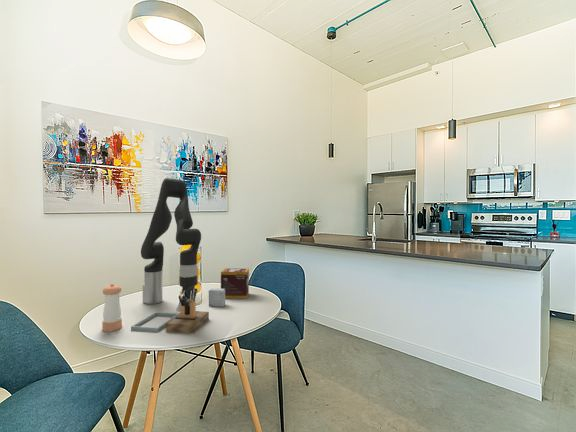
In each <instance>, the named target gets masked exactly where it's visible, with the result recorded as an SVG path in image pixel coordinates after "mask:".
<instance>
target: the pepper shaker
mask: <svg viewBox="0 0 576 432" xmlns="http://www.w3.org/2000/svg"><path fill="white" fill-rule="evenodd" d="M121 292H122V287H121V286H120V285H117V284H115V283H110V285H107V286H105V287H104V288H103V289H102V294H103V295H104V306H103V313H102V318H103V319H102V325H101V326H102V329H101V330H102V331H104V332H114V331H117V330H120V329H121V328H122V327H123V323H122V322H123V319H122V310H121V308H122V307H121V303H120V293H121Z"/></svg>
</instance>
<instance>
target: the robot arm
mask: <svg viewBox="0 0 576 432" xmlns="http://www.w3.org/2000/svg"><path fill="white" fill-rule="evenodd" d="M168 198H176V199H179V203H178V204H177V206H176V207H175V210H174V215H173V216H174V220H175V224H176V233H175V241H176V243H177V244H178V245H180V246H190V245H191V246H190V247H189V248H188V249H185V250H182V251H181V252H180V253H179V271H178V273H179V275H178V277H179V280H178V284H179V287H181V288H182V290H181V292H182V295H181V294H180V295H178V299H179V301H180V303H181V305H182V306H185V315H189V314H190V301H196V298H197V293H198V288H195V287H196V286H197V285H198V251H199V246H200V245H201V244H200V243H201V241H202V233H201V231H200V229H198V228H192V227H193V226H194V223H193V218H192V216H191V215H192V214H191V212H190V206H189V196H188V188H187V183H186V182H185V181H184V180H182V179H178V178H172V177H165V178H164V179H163V180H162V183H161V186H160V190H159V195H158V198H157V203H156V207H155V209H154V212H153V214H152V217H151V221H150V225H149V228H148V229H147V230H148V231H147V234H146V236H145V238H144V240H143V242H142V245H141V248H140V255H141V258H142V259H143V260H152V262H151V263H149V264H146V265H145V266H144V267H143V268H144V269H143V270H144V272H143V273H144V277H143V278H144V280H143V281H144V282H143V283H144V284H143V285H142V303H144V304H146V305H152V304H153V305H154V304H155V305H156V304H159V303H162V302H163V297H164V296H163V267H164V256H165V255H164V254H165V250H164V244H163V243H162V241H157V240H158V239H159V238H161V237H162V236H163V235H164V234H165V233H167V231H168V230H169V228H170V226H171V223H172V219H173V216H172V212H171V210H170V208H169V206H168V203H167V199H168ZM187 301H188V302H187Z"/></svg>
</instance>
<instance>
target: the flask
mask: <svg viewBox="0 0 576 432" xmlns="http://www.w3.org/2000/svg"><path fill="white" fill-rule="evenodd" d="M179 293H180V296H181V295H182V291H180V292H179ZM176 311H177V312H179V313H181V303H180V300H179V302H178V304H177V307H176Z"/></svg>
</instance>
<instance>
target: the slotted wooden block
mask: <svg viewBox="0 0 576 432" xmlns="http://www.w3.org/2000/svg"><path fill="white" fill-rule="evenodd" d="M209 313H210V312H209V311H200V310H196V316H195V318H184V317H181V312H179V314H178V315H177V316H175V317H174V318H172V317H171V318H172V319H171V318H170V319H171V320H170V321H168V320H167V321H168V322H167V323H166V327H165V333H177V334H178V333H181V334H195V333H196V331H197V330H199V329H200V327H203V326H204V325H205V323H207V322H208V321H209V319H210V317H209V316H210V315H209Z"/></svg>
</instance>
